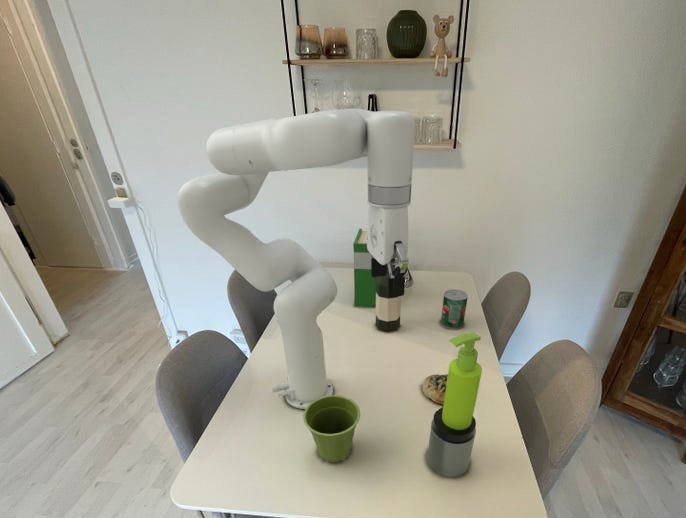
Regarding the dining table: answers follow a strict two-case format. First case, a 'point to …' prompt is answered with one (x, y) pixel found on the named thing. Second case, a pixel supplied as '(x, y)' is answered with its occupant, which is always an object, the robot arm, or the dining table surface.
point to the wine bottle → (387, 306)
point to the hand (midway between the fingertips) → (386, 285)
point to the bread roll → (435, 387)
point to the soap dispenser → (462, 383)
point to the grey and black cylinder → (450, 447)
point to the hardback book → (363, 273)
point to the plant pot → (332, 425)
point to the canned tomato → (454, 309)
